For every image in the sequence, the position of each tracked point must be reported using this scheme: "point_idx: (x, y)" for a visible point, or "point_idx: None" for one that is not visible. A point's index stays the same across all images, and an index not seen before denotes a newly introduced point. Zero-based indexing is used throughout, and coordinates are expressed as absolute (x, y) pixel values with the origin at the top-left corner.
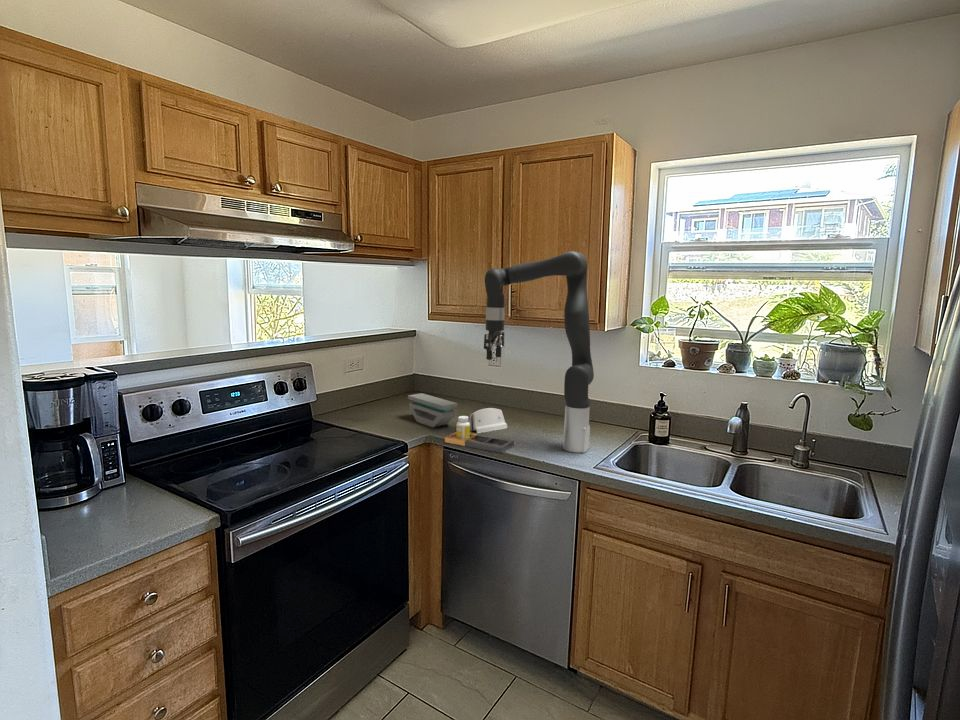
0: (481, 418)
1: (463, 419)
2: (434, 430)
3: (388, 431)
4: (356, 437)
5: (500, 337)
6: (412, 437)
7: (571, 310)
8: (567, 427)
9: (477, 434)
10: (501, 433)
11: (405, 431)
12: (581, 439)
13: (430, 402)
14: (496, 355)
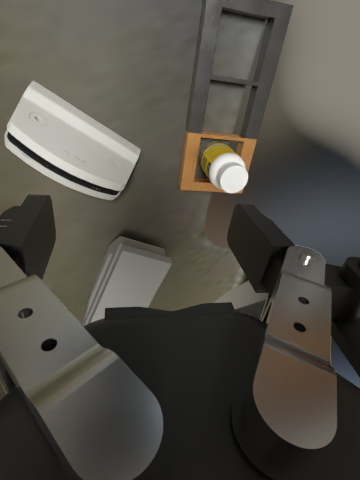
0: (106, 162)
1: (246, 172)
2: (167, 243)
3: (209, 298)
4: (254, 312)
5: (92, 398)
6: (227, 253)
7: None
8: None
9: (192, 131)
10: (103, 80)
11: (197, 279)
12: None
13: (149, 302)
14: (53, 238)
